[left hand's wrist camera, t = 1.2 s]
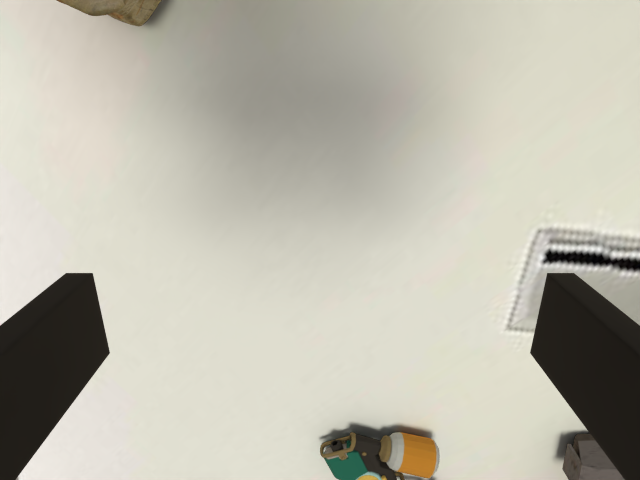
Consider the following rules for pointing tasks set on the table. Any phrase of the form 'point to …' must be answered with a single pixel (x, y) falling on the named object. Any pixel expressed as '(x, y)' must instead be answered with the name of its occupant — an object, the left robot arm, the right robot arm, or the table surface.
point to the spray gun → (381, 457)
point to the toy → (588, 461)
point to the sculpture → (117, 9)
